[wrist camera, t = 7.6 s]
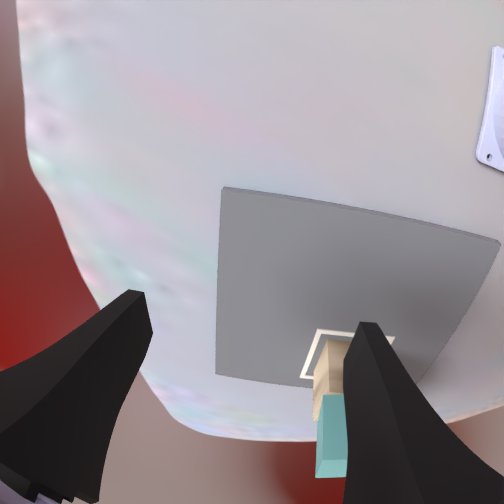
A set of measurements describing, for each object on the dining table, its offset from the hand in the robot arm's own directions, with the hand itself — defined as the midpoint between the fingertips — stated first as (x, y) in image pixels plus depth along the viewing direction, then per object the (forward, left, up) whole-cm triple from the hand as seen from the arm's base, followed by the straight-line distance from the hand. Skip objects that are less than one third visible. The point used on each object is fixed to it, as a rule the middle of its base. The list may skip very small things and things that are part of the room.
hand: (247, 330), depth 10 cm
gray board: (-7, +8, -10) cm, 14 cm away
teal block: (-8, +12, -4) cm, 15 cm away
